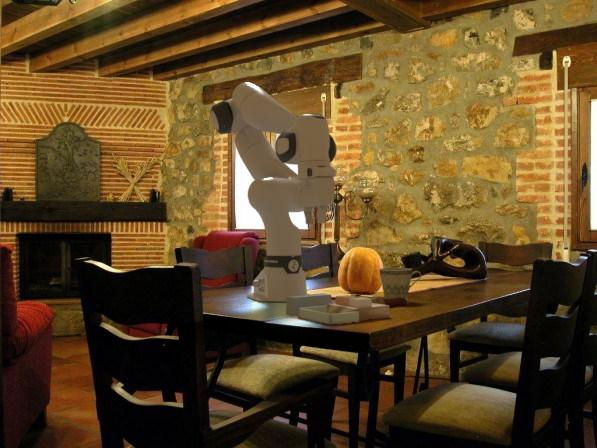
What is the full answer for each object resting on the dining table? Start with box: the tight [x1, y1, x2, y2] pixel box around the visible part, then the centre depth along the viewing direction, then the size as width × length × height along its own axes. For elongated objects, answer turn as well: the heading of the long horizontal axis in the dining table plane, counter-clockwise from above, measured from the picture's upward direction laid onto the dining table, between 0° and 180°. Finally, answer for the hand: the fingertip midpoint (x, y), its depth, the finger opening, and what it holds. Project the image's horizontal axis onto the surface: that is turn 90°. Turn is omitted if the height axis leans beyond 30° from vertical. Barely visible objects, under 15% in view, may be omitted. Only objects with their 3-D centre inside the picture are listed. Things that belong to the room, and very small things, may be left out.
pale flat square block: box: [327, 302, 391, 322], centre depth 158 cm, size 12×11×3 cm
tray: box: [297, 306, 360, 326], centre depth 153 cm, size 14×8×2 cm, turn 32°
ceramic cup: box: [378, 267, 422, 300], centre depth 189 cm, size 13×10×10 cm
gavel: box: [349, 293, 410, 308], centre depth 175 cm, size 21×5×10 cm
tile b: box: [349, 297, 372, 308], centre depth 155 cm, size 4×4×2 cm
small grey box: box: [285, 293, 332, 317], centre depth 165 cm, size 12×4×5 cm, turn 122°
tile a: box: [335, 294, 357, 305], centre depth 160 cm, size 4×4×2 cm
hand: (315, 223), depth 166 cm, fingers open, 8 cm apart
